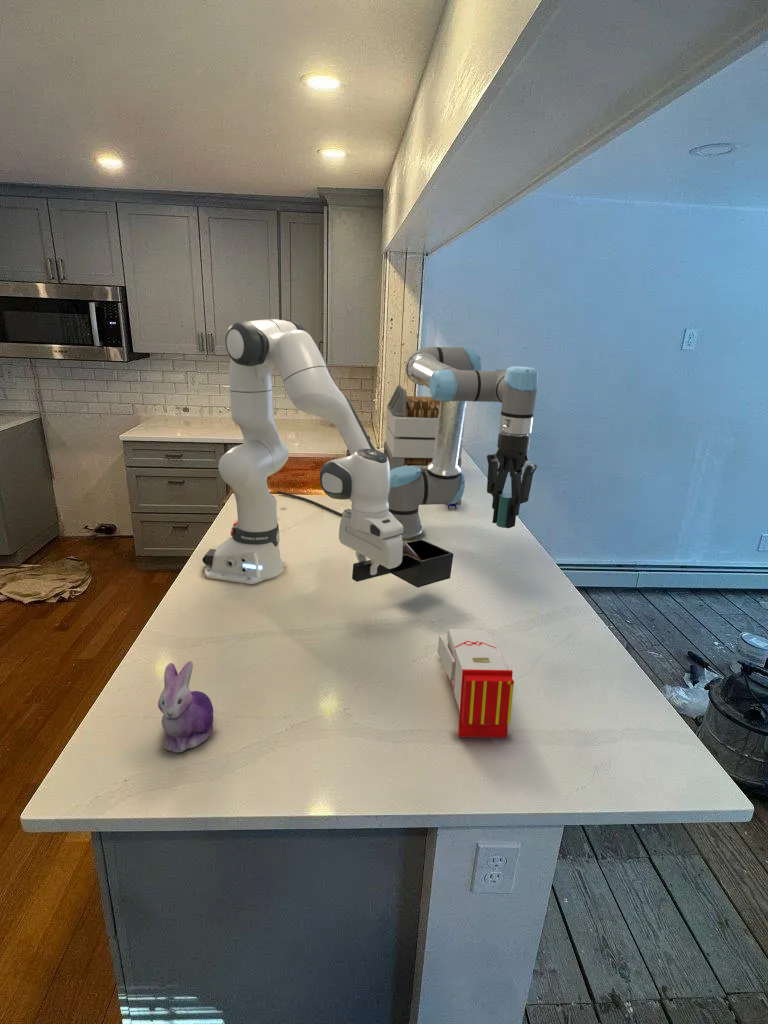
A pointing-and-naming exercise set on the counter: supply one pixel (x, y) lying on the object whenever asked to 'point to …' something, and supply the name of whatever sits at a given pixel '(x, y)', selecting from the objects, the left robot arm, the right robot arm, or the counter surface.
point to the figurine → (184, 711)
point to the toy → (478, 682)
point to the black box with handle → (413, 565)
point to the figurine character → (454, 504)
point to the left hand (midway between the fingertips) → (367, 571)
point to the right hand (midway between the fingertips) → (503, 524)
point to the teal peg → (503, 509)
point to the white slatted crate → (411, 430)
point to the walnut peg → (409, 551)
